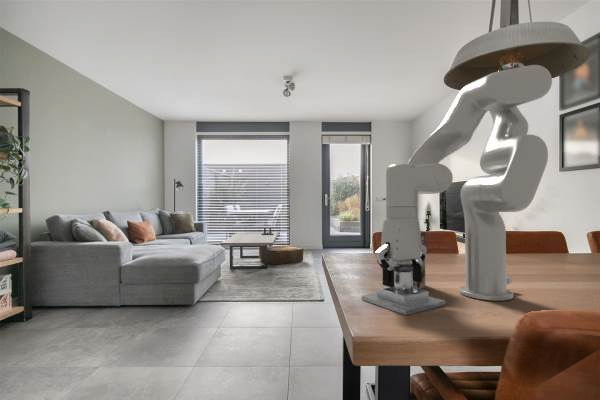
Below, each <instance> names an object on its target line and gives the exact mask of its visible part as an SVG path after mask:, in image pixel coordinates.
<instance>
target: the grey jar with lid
mask: <svg viewBox="0 0 600 400" xmlns="http://www.w3.org/2000/svg"><path fill="white" fill-rule="evenodd" d="M392 270H394V287H392V292H394V293H397V294H401V295H408V294H413V266H412V265H408V264H397V263H395V265H394V267H393V268H392Z"/></svg>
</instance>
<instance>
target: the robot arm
mask: <svg viewBox="0 0 600 400" xmlns="http://www.w3.org/2000/svg"><path fill="white" fill-rule="evenodd" d="M552 84H553V77H552V74H551V72H550V71H549V70H548V69H547V68H546V67H544V66H543V65H539V64H530V65H525V66H519V67H514V68H510V69H503V70H499V71H495V72H491V73H489V74H487V75H485V76H483V77H481V78H478V79H476V80H474V81H472V82H469V83H467V84H466V85H464V86H463V87H462V88H461V90H460V91H459V92H458V93H457V95H456V97H455V98H454V101H453V102H452V104H451V105H450V107H449V109H448V111H447V112H446V114H445V116H444V117H443V119H442V120H441V122H440V124H439V126H438V127H437V128H436V129H435V130H434V131H433V132H431V134H430V135H429V136H428V137H427V138H426V139H425V140H424V141H423V142H422V143H421V144H420V145H419V146H418V148H417V149H416V150H415V151H414V153H413V154H412V155H411V157H410V158H409V160H408V161H407V163H395V164H394V163H393V164H390V165H389V166H387V167H386V170H385V187H386V188H385V204H386V205H385V206H386V208H385V212H386V213H385V215H386V217H385V218H386V219H384V220H383V224H382V229H381V239H380V247H379V248H378V249H377V250H376V251H375V252H374V256H375V258H376V260H377V261H376V262H377V264H378V265H379V266H380V267H379V268H380V269H381V270H382V285H383V286H384V287H394V270H392V268H393V267H394V265H395V264H397V262H399V261H407V260H410V262H411V263H412V264H410V265H412V266H413V281H416V282H421V281H422V266H423V261H424V259H425V260H426V255H427V250H428V248H427V246H426V245H425V246H424V245H422V244H421V233H420V232H421V226H420V222H419V221H420V220H419V195H434V194H441V193H444V192H445V191H447V190H448V189H449V188H450V187H451V186H452V183H453V178H454V177H453V173H452V170H450V168H449V167H448V166H446V165H444V164H443V163H441V161H443V160H444V159H445V158H447V157H449V156H450V155H451V154H454V153H455V152H457V151H459V150H461V149H462V148H463V147H464V146H466V145H468V143H469V142H470V141H471V140H472V138H473V136H474V134H475V132H476V131H477V129H478V128H479V125H480V124H481V122H482V120H483V119H484V117H485V114H486V113H488V112H489V113H490V114H489V115H491V119H492V128H491V131H490V132H489V133H490V134H489V136H488V139H487V140H486V144H485V146H484V148H483V151H482V153H481V156H480V158H479V159H480V160H479V167H480V170H482V172H484V173H485V174H487V175H478V176H475V177H472V178H469V179H468V180H466V181H465V183H464V184H463V185H462V187H461V189H460V201H461V205H462V206H461V207H462V210H463V218H464V233H465V234H464V247H465V249H464V255H465V257H464V259H465V261H464V262H465V263H464V264H465V272H464V273H465V285H461V286H460V287H459V291H458V292H459V293H460V294H461V295H463V296H466V297H468V298H473V299H477V300H483V301H494V302H495V301H496V302H497V301H502V302H503V301H504V302H505V301H509V300H512V299H514V292H513V291H511V290H509V289H507V286H508V285H511V284H512V283H513V279H512V278H511V277H509V276H507V244H506V243H507V241H506V240H507V231H506V225H505V222H504V220H503V218H502V215H501V213H519V212H521V211H524V210H526V209H527V208H528V207H529V206H530V205H531V204H532V202H533V200H534V198H535V196H536V193H537V191H538V188H539V185H540V183H541V180H542V178H543V176H544V172H545V169H546V167H547V164H548V159H549V152H548V151H549V150H548V146H547V144H546V141H544V139H543V138H541V137H540V136H538V135H536V134H535V135H534V134H531V133H530V134H529V123H528V122H529V121H528V120H527V119H526V117H525V116H524V115H523V113H522V112H521V110H520V108H518V106H520V105H524V104H527V103H530V102H533V101H537V100H539V99H542V98H543V97H545V96H546V95H547V94H548V93H549V91H550V89H551V88H552Z"/></svg>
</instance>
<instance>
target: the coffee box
mask: <svg viewBox="0 0 600 400" xmlns="http://www.w3.org/2000/svg"><path fill="white" fill-rule="evenodd" d="M420 233H421V244H422V245H424V246H425V247H426V232H425V231H420ZM396 264H408V265H410V264H412V263H411V262H410V260H407V261H399V262H396ZM425 286H426V258H425V259H424V261H423V266H422V281H421V282H416V281H413V288H417V289H421V290H423V288H425Z"/></svg>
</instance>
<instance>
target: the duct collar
mask: <svg viewBox="0 0 600 400" xmlns="http://www.w3.org/2000/svg"><path fill="white" fill-rule="evenodd" d="M429 292H430V291H428V290H425V289H417V288H413V294H408V295H401V294H397V293H394V292H392V287H388V286H384V287H379V288H377V289H376V292H374V293H371V294H370V293H369V294H364V295H361V301H364V302H367V303H370V304H372V305H375V306H378V307H381V308H383V309H387V310H389V311H392V312H395V313H398V314H400V315H403V316H407V315H409V316H410V315H411V314H416V313H419V312H424V311H428V310H431V309H435V308H439V307H443V306H446V304H447V303H446V300H444V299H440V298H437V297H433V296H430V294H429Z"/></svg>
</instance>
